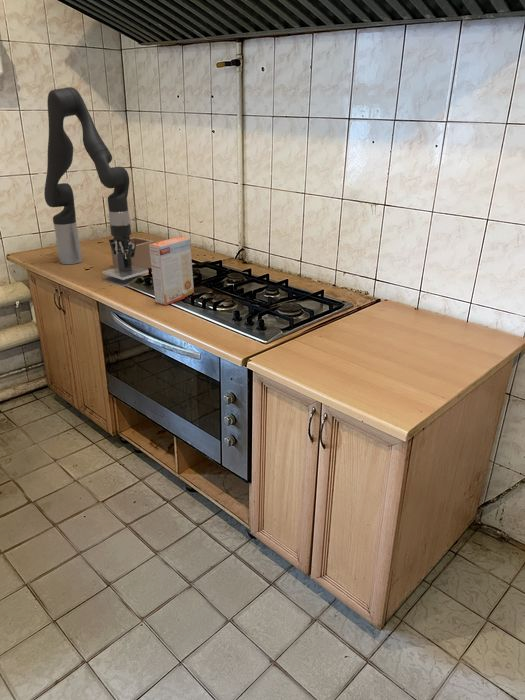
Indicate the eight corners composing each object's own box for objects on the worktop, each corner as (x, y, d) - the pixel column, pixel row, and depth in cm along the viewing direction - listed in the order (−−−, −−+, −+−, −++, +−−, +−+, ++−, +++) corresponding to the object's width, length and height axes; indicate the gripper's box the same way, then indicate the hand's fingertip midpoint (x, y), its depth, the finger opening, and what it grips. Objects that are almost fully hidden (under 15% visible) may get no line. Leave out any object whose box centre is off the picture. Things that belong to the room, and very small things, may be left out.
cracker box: (183, 292, 196) (179, 235, 187) (194, 295, 192) (191, 238, 184) (153, 302, 186) (148, 243, 177) (165, 306, 183) (160, 246, 174)
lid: (102, 273, 208) (100, 253, 205) (128, 266, 217) (126, 247, 214) (123, 279, 201) (120, 259, 198) (148, 272, 210) (146, 252, 207)
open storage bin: (113, 268, 225) (110, 242, 220) (137, 261, 234) (135, 236, 230) (133, 273, 218) (130, 247, 213) (157, 266, 227) (155, 241, 222)
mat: (101, 280, 209) (100, 279, 209) (129, 272, 219) (129, 271, 219) (123, 287, 201) (123, 286, 201) (151, 278, 211) (151, 277, 211)
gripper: (100, 221, 202) (106, 265, 210) (123, 226, 194) (129, 272, 202) (116, 218, 208) (121, 261, 215) (140, 223, 200) (144, 267, 207)
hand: (125, 266), depth 208 cm, fingers closed on lid, 3 cm apart
